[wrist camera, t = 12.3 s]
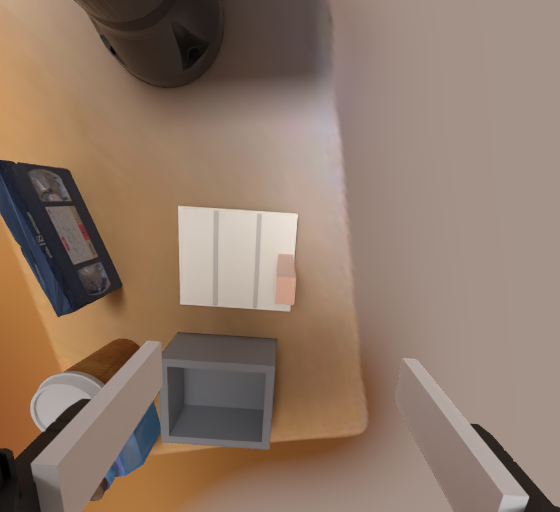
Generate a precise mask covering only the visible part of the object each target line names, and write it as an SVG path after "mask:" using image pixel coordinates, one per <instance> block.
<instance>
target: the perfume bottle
mask: <svg viewBox="0 0 560 512" xmlns="http://www.w3.org/2000/svg"><path fill="white" fill-rule="evenodd" d="M160 432H161V425H160V422H159V418H158V415H157V411H156V408H155V404H154V400H153V402H152V403H151V405H150V406H149V408H148V409H147V411H146V413H145V414H144V416H143V417H142V419H141V420H140V422H139V424H138V425H137V427H136V428H135V430H134V431H133V433H132V434H131V436H130V438H129V439H128V441H127V442H126V444H125V445H124V447H123V449H122V450H121V452H120V453H119V455H118V456H117V458H116V460H115V461H114V463H113V464H112V466H111V467H110V469H109V471H108V472H107V474H106V475H105V477H104V478H103V480H102V482H101V483H100V485H99V486H98V488H97V489H96V491H95V493H94V494H93V496H92V497H91V499H90V501H97V500H100V499H101V498H102V497H103V495H104V492H105V491H106V490H107V489H109V487H110V486H111V484H112V482H113V481H114V479H115V477H119V476H126V475H127V474H129V473H130V472H132V471H134V470H135V469H137V468H138V467H140V466H141V465H143V464H144V462H145V460H146V458H147V456H148V454H149V453H150V451H151V449H152V447H153V445H154V443H155V441H156V439H157V437H158V435H159V434H160Z"/></svg>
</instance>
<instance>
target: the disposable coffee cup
mask: <svg viewBox="0 0 560 512" xmlns="http://www.w3.org/2000/svg"><path fill="white" fill-rule="evenodd" d="M139 349H140V347H139V346H138V345H137V344H135V343H134V342H132V341H130V340H127V339H117V340H114V341H112V342H111V343H109V344H108V345H106V346H104V347H103V348H101V349H99V350H98V351H96V352H95V353H93V354H91V355H90V356H88V357H87V358H85V359H83V360H82V361H80V362H79V363H77V364H75V365H74V366H72V367H70V368H69V369H67V370H66V371H64V372H62V373H59V374H56V375H53V376H51V377H49V378H48V379H46V380H45V381H44V382H43V383H42V384H41V385H40V387H39V389H38V391H37V393H36V394H35V395H34V397H33V398H32V401H31V408H30V410H31V415H32V418H33V420H34V422H35V424H36V425H37V426H38V428H39V429H40V430H41V431H42V432H43V431H45V430H46V428H47V427H48V426H49V425H50V424H51V423H52V422H55V420H56V418H57V417H59V416H60V415H61V414H62V413H63V412H64V411H65V410H66V409H67V408H68V407H69V406H71V405H73V404H74V403H76V402H77V401H79V400H81V399H92V398H93V397H94V396H95V395H96V394H97V393H98V392H99V391H100V390H101V389H102V388H103V387H104V386H105V385H106V383H107V382H108V381H109V380H110V379H111V378H112V377H113V376H114V375H115V374H116V373H117V372H118V371H119V370H120V369H121V368H122V367H123V365H124V364H125V363H126V362H127V361H128V360H129V359H130V358H131V357H132V356H133V355H134V354H135V353H136V352H137V351H138V350H139Z"/></svg>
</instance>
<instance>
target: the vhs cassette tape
mask: <svg viewBox="0 0 560 512" xmlns="http://www.w3.org/2000/svg"><path fill="white" fill-rule="evenodd" d="M0 213H1V215H2V217H3V219H4V221H5V223H6V225H7V227H8V228H9V230H10V232H11V233H12V235H13V237H14V239H15V240H16V242H17V243H18V244H19V245H20V246H21V247H20V248H21V251H22V253H23V255H24V257H25V259H26V260H27V262H28V264H29V266H30V268H31V269H32V271H33V273H34V275H35V277H36V278H37V280H38V282H39V284H40V286H41V287H42V289H43V291H44V292H45V294H46V296H47V297H48V299H49V301H50V302H51V304H52V306H53V309H54V311H55V312H56V314H57V316H58V317H60V316H62V315H66V314H70V313H73V312H75V311H77V310H78V309H80V308H82V307H84V306H86V305H87V304H90V303H92V302H94V301H96V300H98V299H100V298H102V297H104V296H105V295H106V294H108V293H110V292H112V291H114V290H115V289H118V288H119V287H121V286H122V282H121V280H120V278H119V276H118V273H117V271H116V269H115V267H114V265H113V263H112V260H111V258H110V256H109V254H108V252H107V250H106V248H105V245H104V243H103V241H102V239H101V237H100V235H99V233H98V230H97V228H96V226H95V224H94V222H93V220H92V218H91V215H90V213H89V211H88V209H87V207H86V205H85V203H84V201H83V199H82V196H81V194H80V192H79V190H78V188H77V186H76V184H75V182H74V180H73V178H72V176H71V173H70V171H69V170H67V169H64V168H55V167H49V166H40V165H35V164H28V163H20V162H18V163H17V164H15V163H14V162H12V161H5V160H0Z"/></svg>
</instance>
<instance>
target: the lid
mask: <svg viewBox="0 0 560 512" xmlns="http://www.w3.org/2000/svg"><path fill="white" fill-rule="evenodd" d="M297 218H298V214H297V213H282V212H267V211H252V210H237V209H222V208H207V207H192V206H178V220H179V267H180V304H183V305H198V306H213V307H229V308H244V309H259V310H275V311H290V307H291V305H294V300H295V287H296V273H295V267H294V256H295V244H296V231H297Z"/></svg>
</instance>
